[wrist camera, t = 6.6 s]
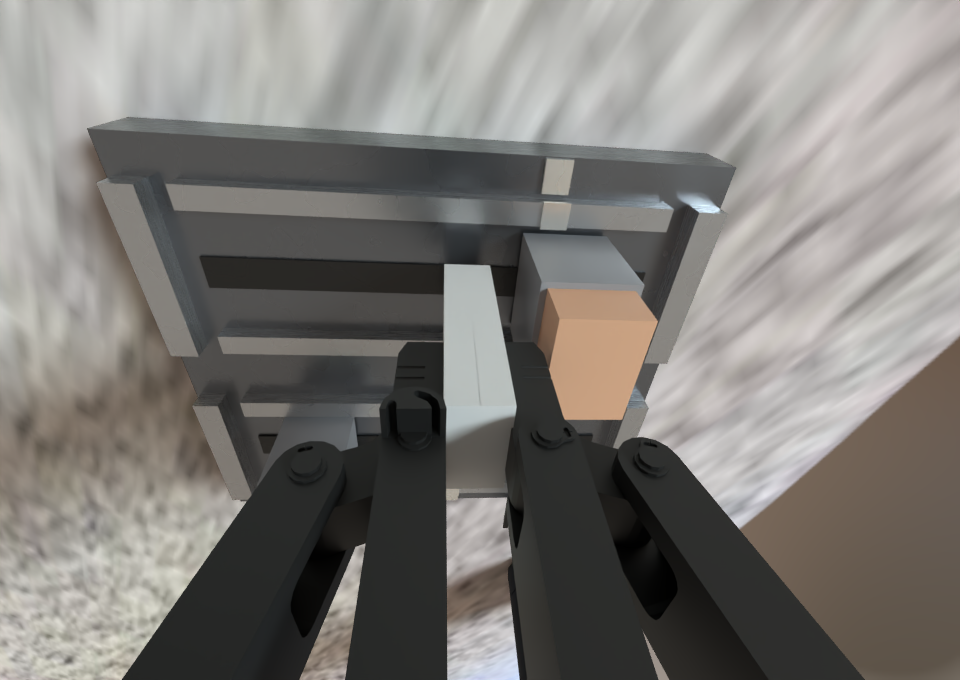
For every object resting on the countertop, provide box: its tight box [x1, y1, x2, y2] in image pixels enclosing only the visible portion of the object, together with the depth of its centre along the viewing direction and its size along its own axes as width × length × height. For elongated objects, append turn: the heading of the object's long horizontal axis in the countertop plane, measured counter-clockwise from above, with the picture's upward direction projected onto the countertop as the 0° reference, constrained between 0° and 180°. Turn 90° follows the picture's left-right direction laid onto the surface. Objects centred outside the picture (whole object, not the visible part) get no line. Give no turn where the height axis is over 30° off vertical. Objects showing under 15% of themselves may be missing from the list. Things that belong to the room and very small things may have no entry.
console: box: [87, 117, 736, 501], centre depth 19 cm, size 18×20×3 cm
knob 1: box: [257, 417, 358, 486], centre depth 19 cm, size 4×3×5 cm
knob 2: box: [510, 233, 658, 420], centre depth 14 cm, size 4×3×5 cm
